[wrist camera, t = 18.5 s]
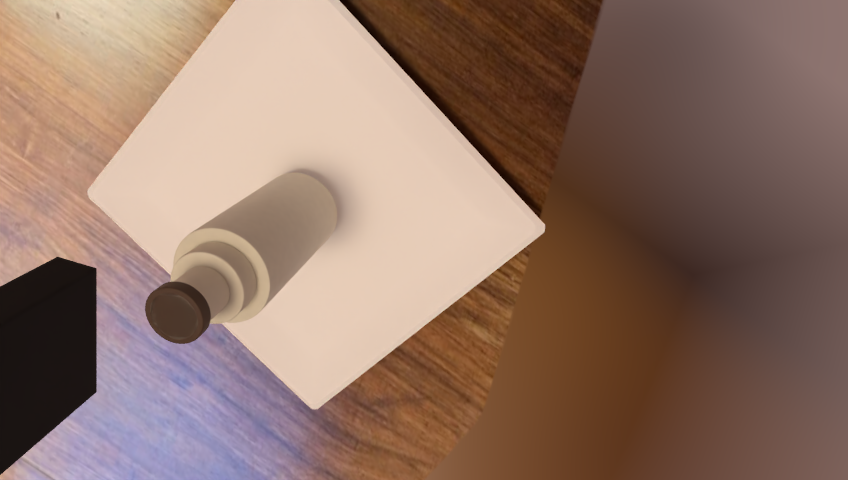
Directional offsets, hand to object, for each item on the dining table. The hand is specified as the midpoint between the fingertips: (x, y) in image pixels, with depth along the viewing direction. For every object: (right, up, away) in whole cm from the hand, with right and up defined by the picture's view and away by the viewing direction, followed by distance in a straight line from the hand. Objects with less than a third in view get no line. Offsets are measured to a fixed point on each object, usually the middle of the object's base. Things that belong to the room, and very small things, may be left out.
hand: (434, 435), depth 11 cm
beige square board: (-9, +6, +38) cm, 39 cm away
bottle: (-10, +6, +35) cm, 37 cm away
